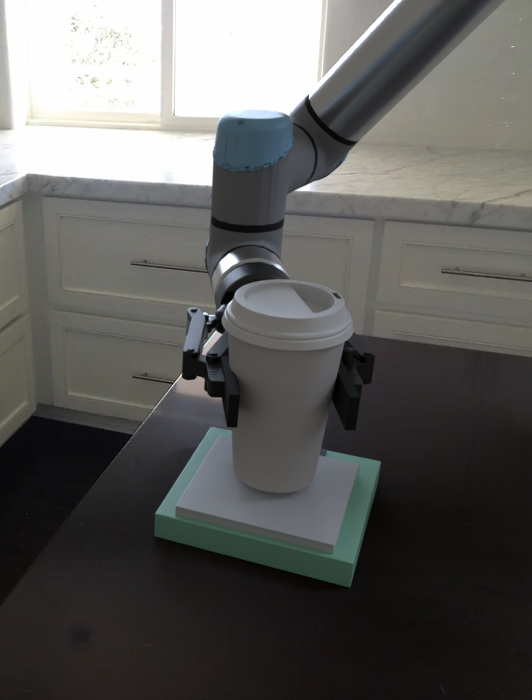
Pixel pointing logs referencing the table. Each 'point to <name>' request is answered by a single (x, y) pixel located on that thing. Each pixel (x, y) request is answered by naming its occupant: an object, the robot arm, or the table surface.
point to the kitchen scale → (272, 512)
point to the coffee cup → (283, 378)
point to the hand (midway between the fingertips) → (292, 412)
